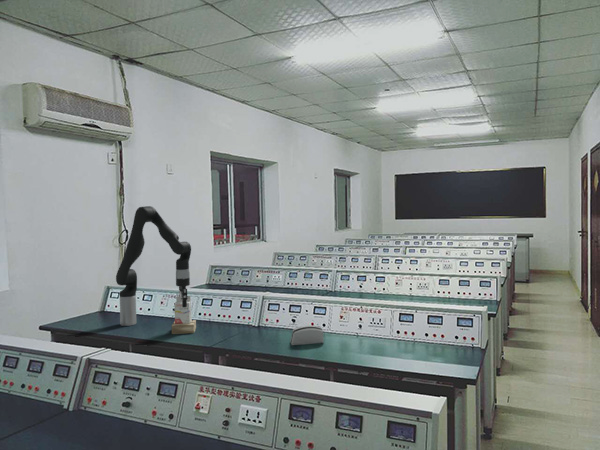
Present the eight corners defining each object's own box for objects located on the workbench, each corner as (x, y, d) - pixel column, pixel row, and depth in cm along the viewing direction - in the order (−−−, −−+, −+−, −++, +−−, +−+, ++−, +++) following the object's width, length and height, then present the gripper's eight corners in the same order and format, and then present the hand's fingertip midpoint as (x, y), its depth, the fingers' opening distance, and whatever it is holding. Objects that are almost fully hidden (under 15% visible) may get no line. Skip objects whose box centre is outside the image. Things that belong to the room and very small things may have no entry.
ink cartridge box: (174, 324, 271) (173, 298, 270) (177, 321, 276) (175, 296, 275) (190, 323, 271) (188, 297, 270) (192, 321, 276) (190, 295, 275)
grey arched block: (321, 340, 248) (323, 323, 244) (324, 345, 244) (325, 328, 240) (289, 342, 244) (290, 325, 241) (291, 348, 240) (292, 330, 237)
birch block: (174, 329, 279) (174, 321, 279) (196, 328, 280) (195, 320, 280) (171, 334, 267) (171, 325, 267) (193, 333, 269) (193, 324, 268)
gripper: (174, 276, 278) (174, 304, 279) (177, 279, 265) (178, 308, 266) (187, 275, 281) (188, 303, 282) (191, 278, 268) (192, 307, 268)
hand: (183, 305), depth 274 cm, fingers open, 8 cm apart
